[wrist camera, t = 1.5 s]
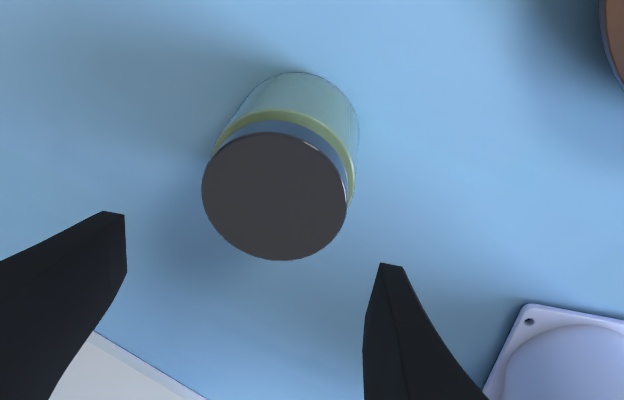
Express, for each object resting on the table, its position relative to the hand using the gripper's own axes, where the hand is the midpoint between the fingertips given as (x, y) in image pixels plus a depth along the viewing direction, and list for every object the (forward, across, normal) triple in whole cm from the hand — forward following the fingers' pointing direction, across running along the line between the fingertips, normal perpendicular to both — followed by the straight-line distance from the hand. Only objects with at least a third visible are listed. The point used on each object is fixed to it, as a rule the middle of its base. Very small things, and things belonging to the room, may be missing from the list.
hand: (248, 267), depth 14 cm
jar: (+10, 0, 0) cm, 11 cm away
